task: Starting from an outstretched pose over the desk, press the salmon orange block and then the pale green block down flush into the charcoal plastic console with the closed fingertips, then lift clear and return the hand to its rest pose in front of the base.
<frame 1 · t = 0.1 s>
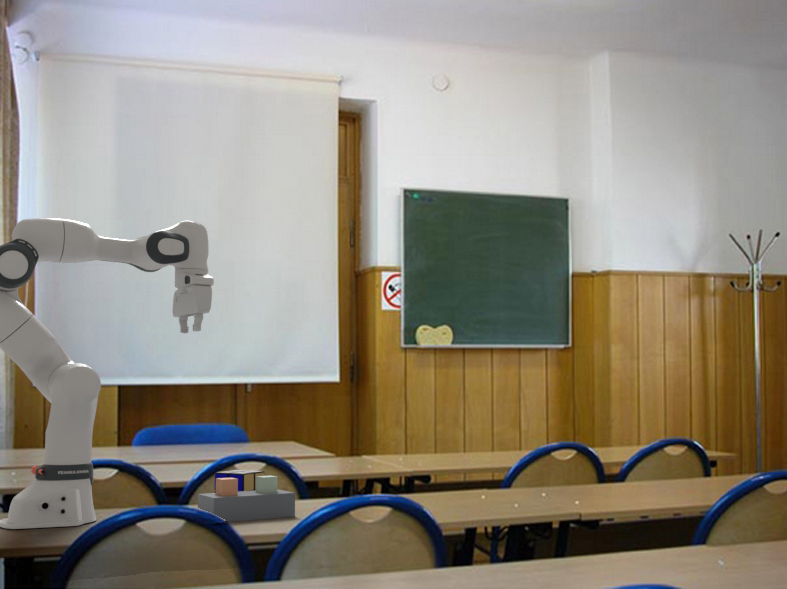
hand: (190, 332, 251), 48 cm above the table, fingers open, 8 cm apart
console: (246, 517, 238), on the table
salmon orange block: (226, 490, 236), point 7 cm above the table, slide at 0.0 cm
pale green block: (266, 487, 241), point 7 cm above the table, slide at 0.0 cm
puzzle cube: (239, 509, 257), on the table
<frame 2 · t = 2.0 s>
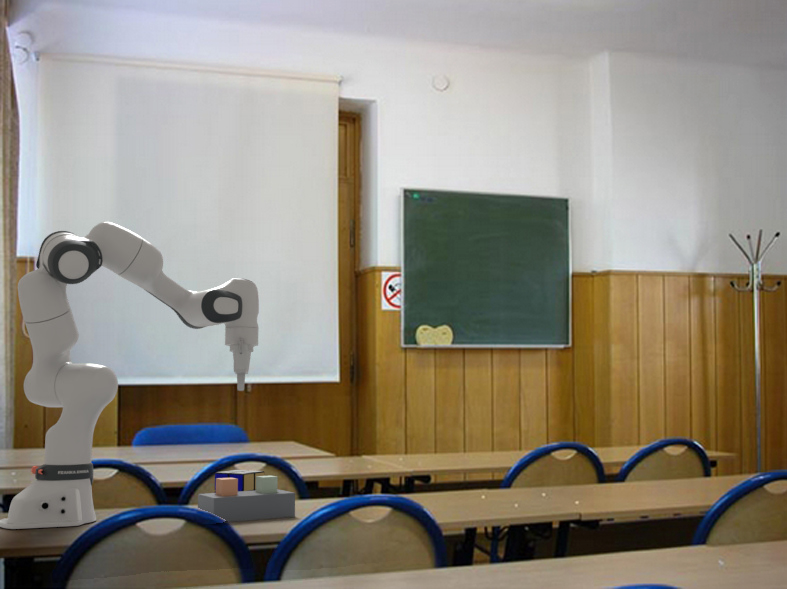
hand: (240, 390, 249), 32 cm above the table, fingers closed
nothing on the table moved.
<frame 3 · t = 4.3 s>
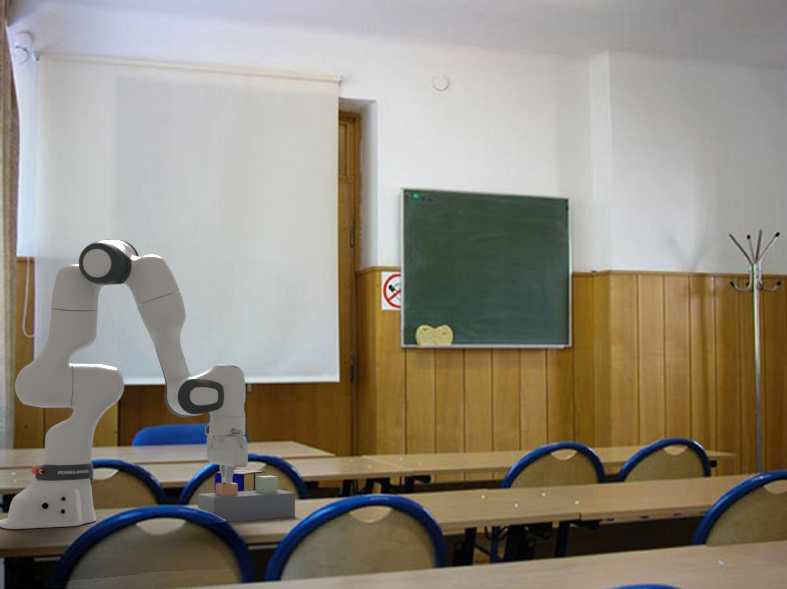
hand: (226, 483, 234), 9 cm above the table, fingers closed
salmon orange block: (226, 495, 235), point 6 cm above the table, slide at 1.2 cm, touching gripper
everything else where it was.
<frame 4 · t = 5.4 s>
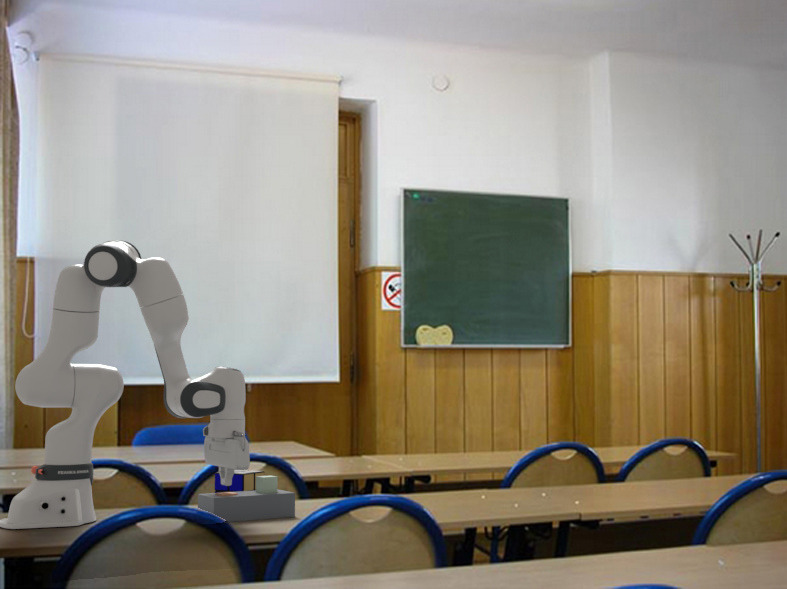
hand: (226, 485, 237), 8 cm above the table, fingers closed
salmon orange block: (226, 504, 235), point 3 cm above the table, slide at 3.6 cm
everything else where it was.
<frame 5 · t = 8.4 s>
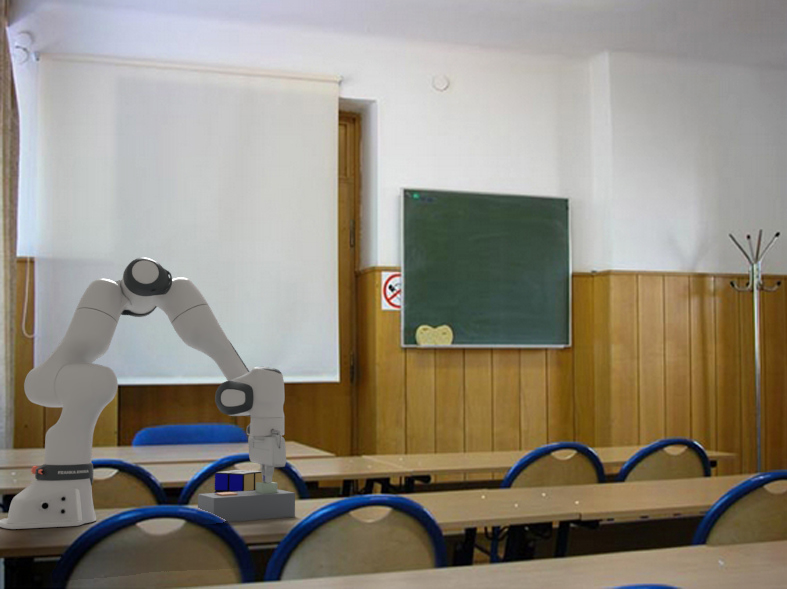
hand: (267, 482, 242), 8 cm above the table, fingers closed, pressing on pale green block
pale green block: (266, 494, 241), point 6 cm above the table, slide at 1.6 cm, touching gripper
everything else where it was.
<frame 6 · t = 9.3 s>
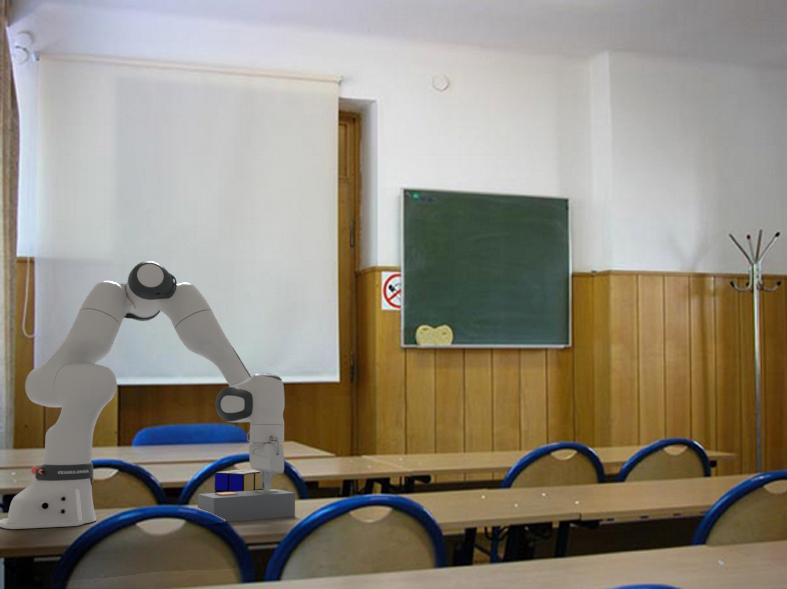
hand: (266, 489, 241), 7 cm above the table, fingers closed
pale green block: (266, 501, 241), point 4 cm above the table, slide at 3.6 cm
everything else where it was.
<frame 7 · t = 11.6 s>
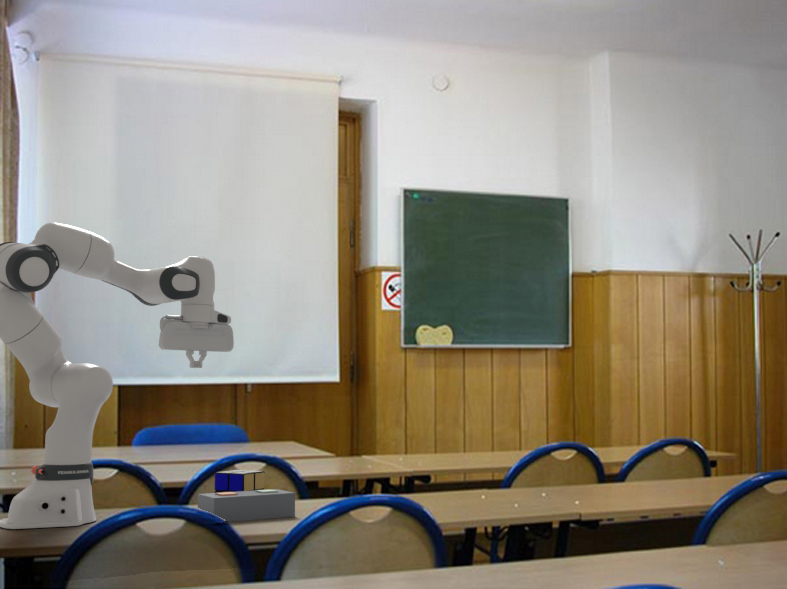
hand: (195, 367, 250), 38 cm above the table, fingers closed
nothing on the table moved.
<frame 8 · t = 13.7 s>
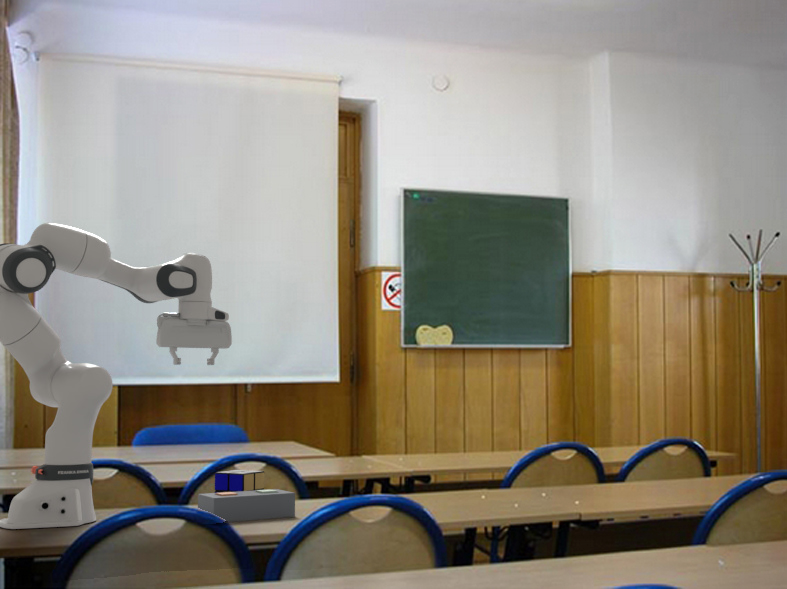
hand: (194, 364, 251), 39 cm above the table, fingers open, 8 cm apart
nothing on the table moved.
at the end: salmon orange block slide at 3.6 cm; pale green block slide at 3.6 cm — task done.
